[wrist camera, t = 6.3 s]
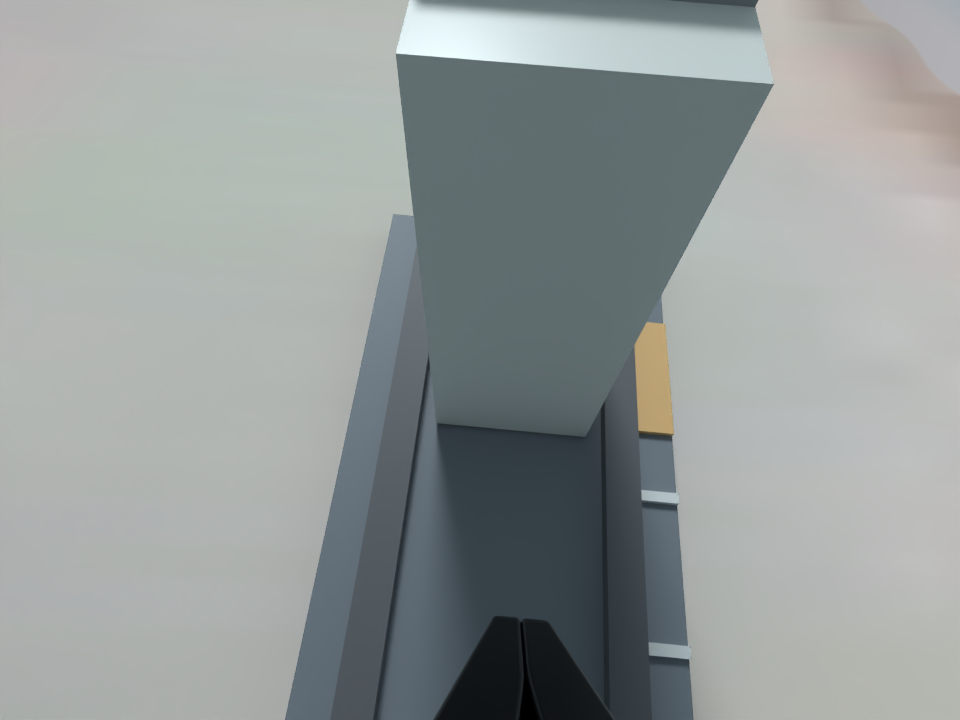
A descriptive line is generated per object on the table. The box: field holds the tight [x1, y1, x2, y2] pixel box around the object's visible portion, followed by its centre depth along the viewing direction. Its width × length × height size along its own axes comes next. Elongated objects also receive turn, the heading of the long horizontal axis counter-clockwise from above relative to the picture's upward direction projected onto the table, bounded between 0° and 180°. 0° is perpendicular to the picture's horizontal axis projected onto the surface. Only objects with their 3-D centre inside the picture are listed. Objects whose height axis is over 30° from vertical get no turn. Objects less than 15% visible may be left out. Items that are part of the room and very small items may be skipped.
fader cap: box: [396, 0, 774, 437], centre depth 13 cm, size 4×5×13 cm
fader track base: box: [285, 214, 693, 720], centre depth 16 cm, size 20×10×3 cm, turn 175°
